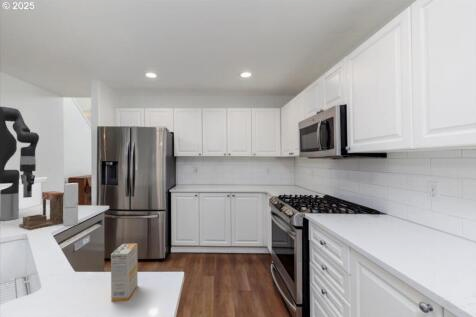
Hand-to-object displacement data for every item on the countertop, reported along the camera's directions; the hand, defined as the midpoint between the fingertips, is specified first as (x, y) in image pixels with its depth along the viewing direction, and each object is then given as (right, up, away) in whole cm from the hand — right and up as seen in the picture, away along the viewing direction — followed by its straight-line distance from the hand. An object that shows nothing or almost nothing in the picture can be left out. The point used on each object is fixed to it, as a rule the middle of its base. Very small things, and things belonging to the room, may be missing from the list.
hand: (27, 191), depth 151 cm
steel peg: (0, -4, 0) cm, 4 cm away
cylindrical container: (+30, -20, -3) cm, 36 cm away
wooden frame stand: (+13, -20, -4) cm, 24 cm away
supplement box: (+99, -19, -81) cm, 129 cm away
